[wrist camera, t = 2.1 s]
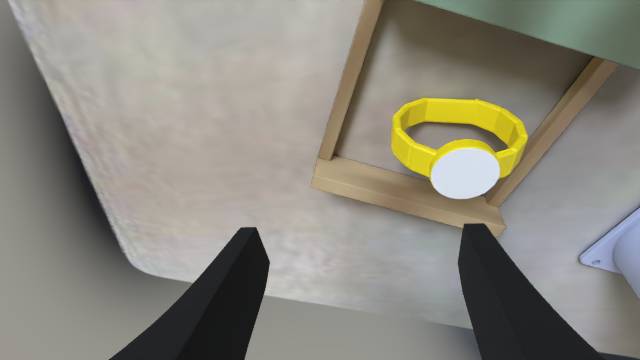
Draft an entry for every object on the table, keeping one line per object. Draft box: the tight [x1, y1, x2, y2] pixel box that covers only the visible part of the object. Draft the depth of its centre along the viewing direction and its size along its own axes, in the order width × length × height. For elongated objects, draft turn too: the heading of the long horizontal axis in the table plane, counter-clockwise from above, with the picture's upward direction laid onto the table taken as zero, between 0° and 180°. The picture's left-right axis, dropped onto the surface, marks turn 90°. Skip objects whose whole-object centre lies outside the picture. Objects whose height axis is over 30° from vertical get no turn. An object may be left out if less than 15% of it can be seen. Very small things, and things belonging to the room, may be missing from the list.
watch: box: [391, 98, 528, 199], centre depth 16 cm, size 6×3×6 cm, turn 93°
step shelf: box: [311, 0, 640, 237], centre depth 15 cm, size 12×20×3 cm, turn 166°
